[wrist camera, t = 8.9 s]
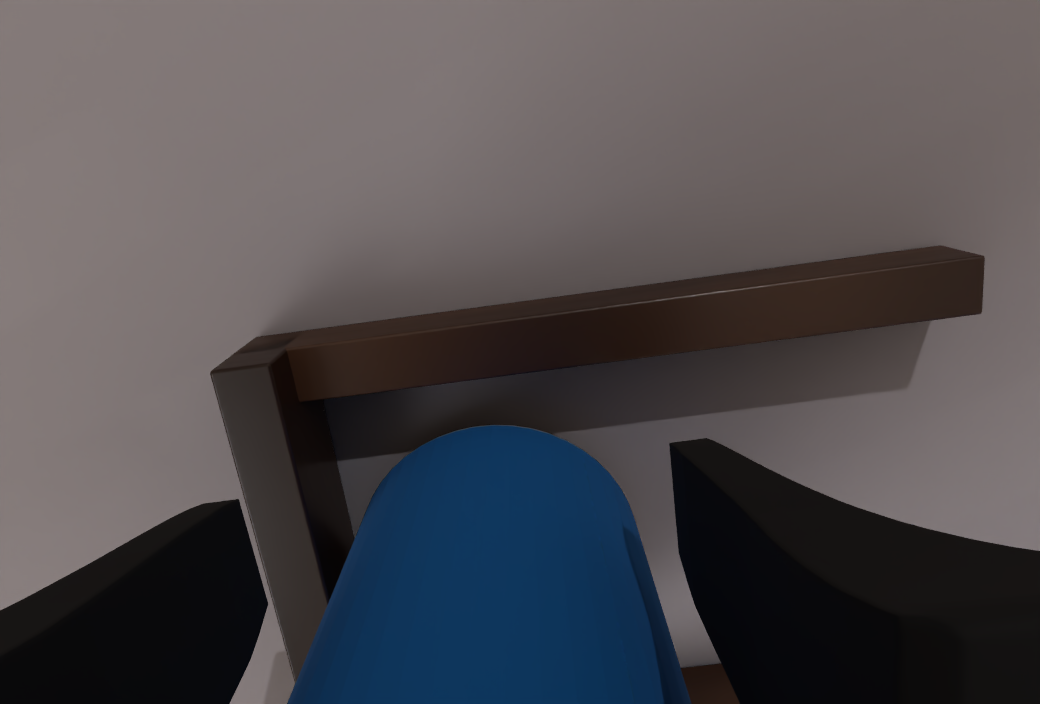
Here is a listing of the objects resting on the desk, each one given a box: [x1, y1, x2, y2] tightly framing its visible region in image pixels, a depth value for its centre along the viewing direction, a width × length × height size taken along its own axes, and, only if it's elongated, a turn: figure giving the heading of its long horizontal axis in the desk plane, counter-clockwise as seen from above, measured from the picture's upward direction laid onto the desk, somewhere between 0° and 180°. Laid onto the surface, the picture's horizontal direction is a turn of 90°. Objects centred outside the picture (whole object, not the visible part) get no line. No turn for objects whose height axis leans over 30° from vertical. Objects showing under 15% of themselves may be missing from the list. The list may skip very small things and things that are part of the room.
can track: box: [210, 246, 985, 704], centre depth 16 cm, size 15×11×2 cm
